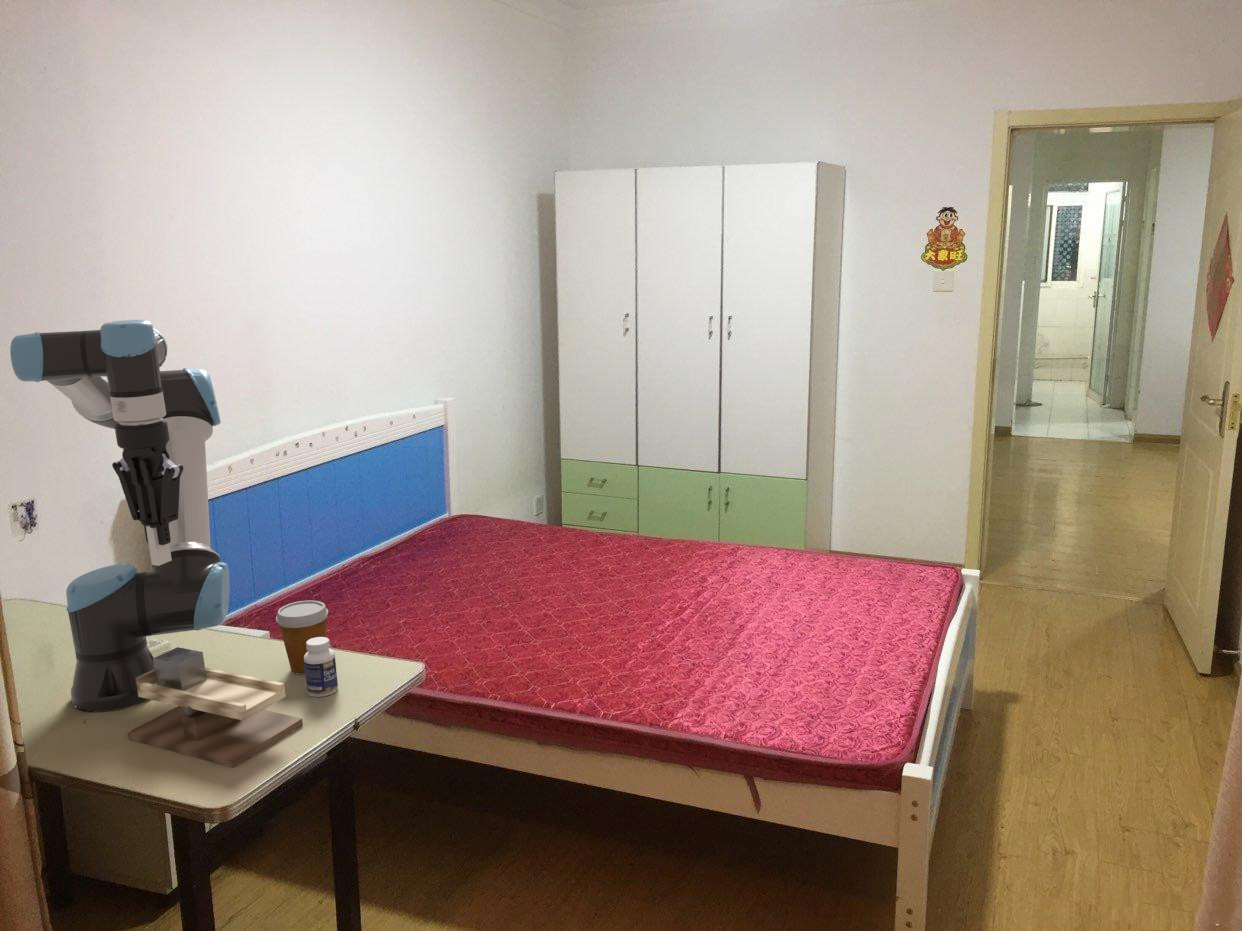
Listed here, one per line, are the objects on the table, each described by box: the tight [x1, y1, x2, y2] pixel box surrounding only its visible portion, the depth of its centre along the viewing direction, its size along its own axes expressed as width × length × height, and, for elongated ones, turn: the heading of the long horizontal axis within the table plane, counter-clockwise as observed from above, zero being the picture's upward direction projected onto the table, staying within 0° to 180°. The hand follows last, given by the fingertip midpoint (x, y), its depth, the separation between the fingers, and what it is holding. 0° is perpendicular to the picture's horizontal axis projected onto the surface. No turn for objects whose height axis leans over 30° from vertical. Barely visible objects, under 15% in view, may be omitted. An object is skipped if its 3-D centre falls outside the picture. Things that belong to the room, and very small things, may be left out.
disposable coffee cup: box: [275, 600, 329, 675], centre depth 192 cm, size 10×10×12 cm
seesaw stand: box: [127, 706, 304, 768], centre depth 169 cm, size 24×15×5 cm, turn 64°
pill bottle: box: [304, 636, 339, 698], centre depth 182 cm, size 5×5×10 cm
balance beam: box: [136, 667, 287, 721], centre depth 167 cm, size 24×10×4 cm, turn 64°
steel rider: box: [153, 646, 207, 691], centre depth 170 cm, size 6×5×5 cm
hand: (161, 562), depth 164 cm, fingers closed
